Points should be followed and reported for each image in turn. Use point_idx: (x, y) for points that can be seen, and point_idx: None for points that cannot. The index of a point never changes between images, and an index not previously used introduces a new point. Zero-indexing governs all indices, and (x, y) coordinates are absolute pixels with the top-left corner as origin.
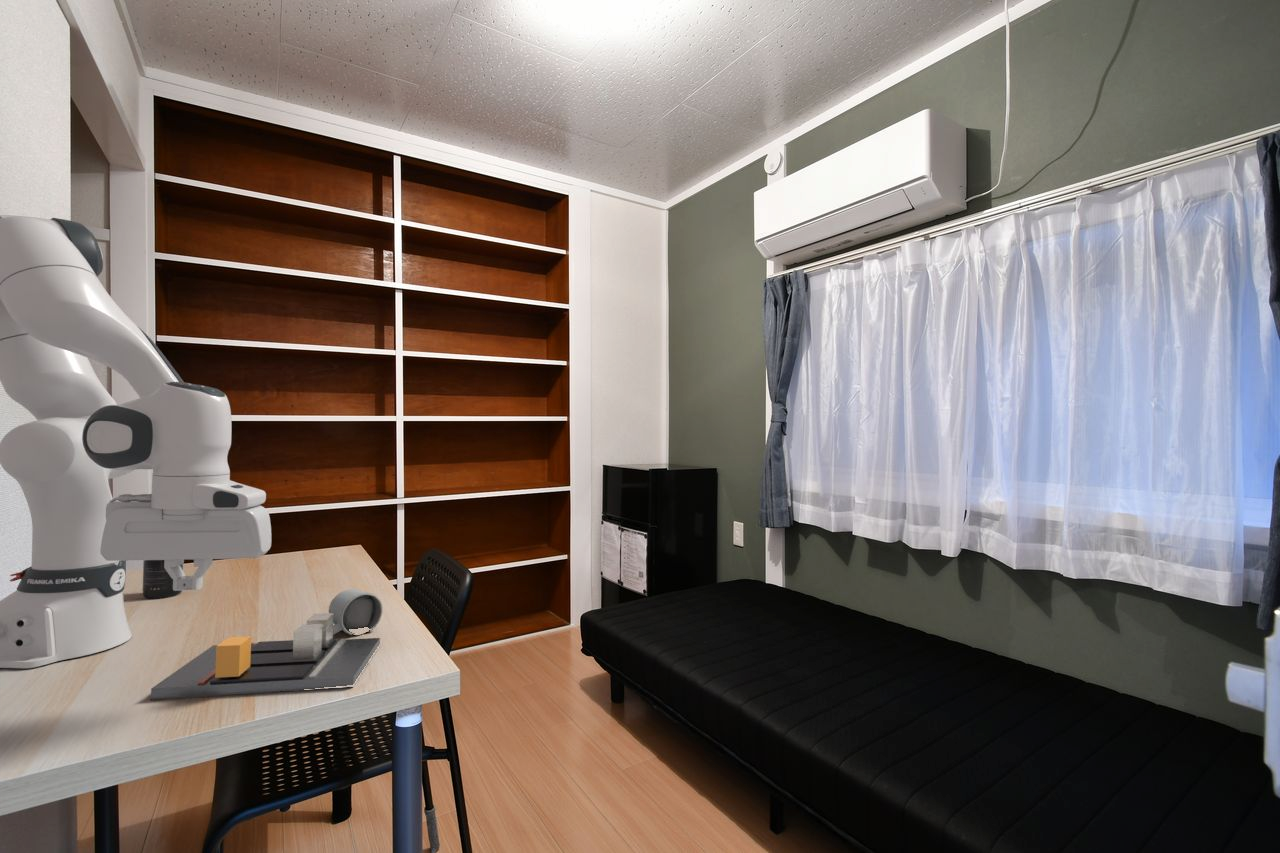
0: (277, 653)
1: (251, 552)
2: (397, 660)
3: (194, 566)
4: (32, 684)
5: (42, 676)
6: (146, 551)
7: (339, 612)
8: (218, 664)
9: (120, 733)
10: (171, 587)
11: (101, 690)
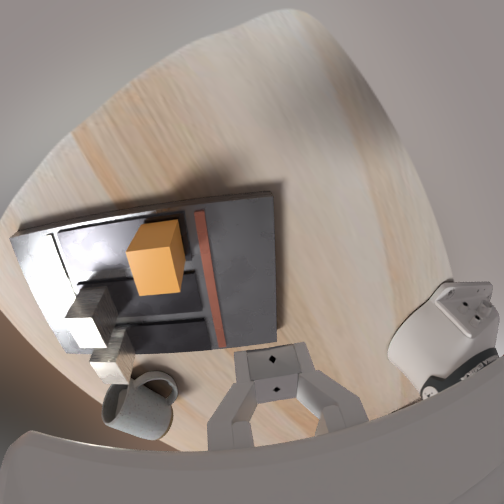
0: (151, 313)
1: (26, 447)
2: (26, 306)
3: (248, 422)
4: (430, 248)
5: (429, 267)
6: (441, 425)
7: (134, 400)
8: (170, 230)
9: (240, 84)
10: None
11: (357, 228)
